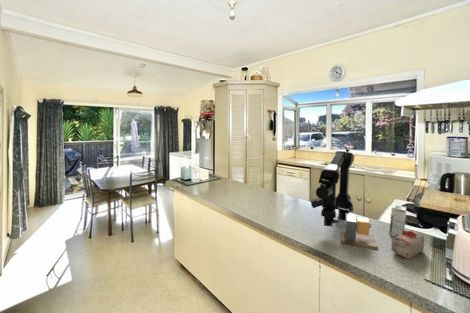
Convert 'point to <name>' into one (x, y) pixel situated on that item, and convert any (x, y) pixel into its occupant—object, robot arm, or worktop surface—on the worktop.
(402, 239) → the food item
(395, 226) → the syrup box
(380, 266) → the worktop surface
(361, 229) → the block
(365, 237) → the stand
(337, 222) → the shaft
